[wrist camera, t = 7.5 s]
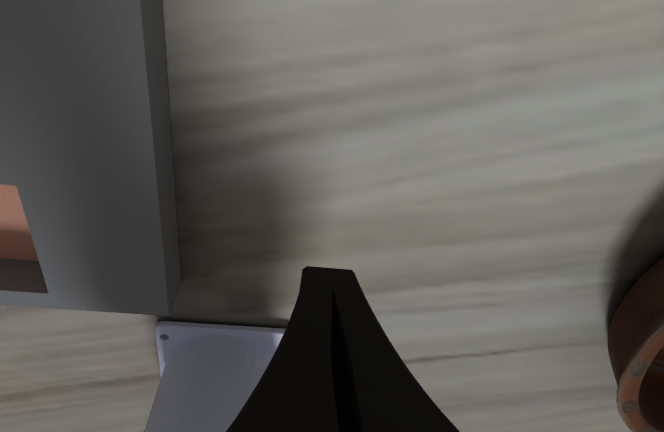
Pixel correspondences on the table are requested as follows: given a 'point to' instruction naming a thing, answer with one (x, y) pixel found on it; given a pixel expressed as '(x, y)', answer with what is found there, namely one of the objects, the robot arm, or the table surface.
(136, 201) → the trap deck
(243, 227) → the table surface
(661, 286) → the dish
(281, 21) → the table surface
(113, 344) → the table surface
